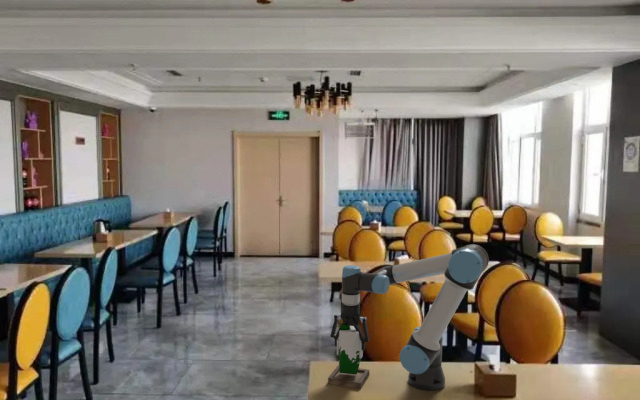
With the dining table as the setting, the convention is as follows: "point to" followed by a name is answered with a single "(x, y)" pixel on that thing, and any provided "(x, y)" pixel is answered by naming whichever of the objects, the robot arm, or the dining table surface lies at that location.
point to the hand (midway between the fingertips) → (349, 355)
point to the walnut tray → (349, 378)
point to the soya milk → (349, 349)
